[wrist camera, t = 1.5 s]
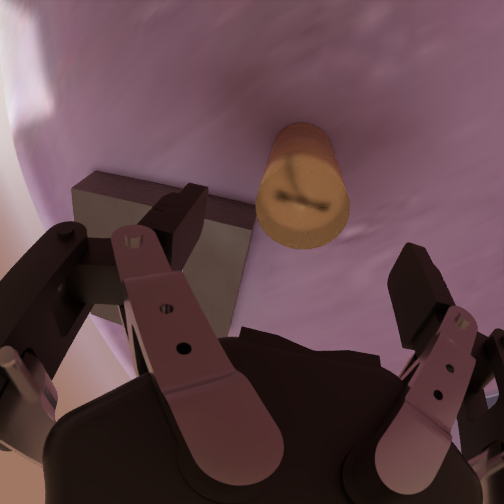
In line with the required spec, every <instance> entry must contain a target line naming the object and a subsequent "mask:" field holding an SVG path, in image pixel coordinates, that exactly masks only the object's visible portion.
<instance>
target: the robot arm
mask: <svg viewBox="0 0 504 504" xmlns="http://www.w3.org/2000/svg"><path fill="white" fill-rule="evenodd" d="M207 197H208V187H206V186H202V185H197V184H193V183H188V184H187V185H186V186H185V187H184V189H183V190H182V191H181V192H180V193H176V192H171V193H169V194H167V195H164V196H162V197H161V198H160V200H159V201H158V202H157V203H156V204H155V205H154V206H153V207H152V209H150V210H149V211H148V212H147V214H146V215H145V216H144V217H143V218H142V219H141V220H140V221H139V222H138V224H137V225H126V226H123V227H120V228H118V229H117V230H115V231H114V232H113V234H112V236H111V238H92V237H88V236H87V229H86V227H85V226H84V225H83V224H81V223H79V222H74V221H68V222H62V223H59V224H56V225H54V226H53V227H51V228H50V229H49V230H48V231H47V232H46V233H45V234H44V235H43V236H42V237H41V238H40V239H39V240H38V241H37V242H36V243H35V244H34V245H33V246H32V247H31V248H30V249H29V250H28V251H27V252H26V253H25V254H24V255H23V256H22V257H21V259H20V260H19V261H18V262H17V263H16V264H15V265H14V266H13V267H12V268H11V269H10V271H9V272H8V273H7V274H6V275H5V276H4V277H3V279H2V280H1V281H0V450H2V451H14V452H15V453H17V454H19V455H20V456H22V457H24V458H26V459H27V460H29V461H31V462H33V463H34V464H36V465H38V466H40V467H42V468H43V471H44V478H45V490H46V492H45V493H46V495H45V496H46V497H45V504H504V330H502V329H495V330H494V331H493V332H492V333H491V334H490V336H489V337H487V336H485V335H483V334H481V333H479V332H478V331H477V330H478V326H477V323H476V321H475V319H474V318H473V317H472V315H471V314H470V313H469V312H468V311H466V310H465V309H463V308H461V307H459V306H456V305H455V303H454V301H453V298H452V296H451V294H450V292H449V290H448V288H447V285H446V283H445V281H443V277H442V275H441V273H440V271H439V270H438V268H437V267H436V266H435V265H434V264H433V262H432V260H431V258H430V256H429V254H428V252H427V251H426V249H425V248H424V247H422V246H419V245H416V244H413V243H409V242H408V243H406V244H405V246H404V247H403V249H402V251H401V253H400V255H399V257H398V259H397V261H396V263H395V264H394V266H393V268H392V270H391V272H390V274H389V277H388V283H387V286H388V290H389V294H390V298H391V302H392V305H393V309H394V313H395V317H396V321H397V326H398V330H399V334H400V339H401V343H402V348H405V349H411V350H415V353H414V354H413V355H412V357H411V358H410V359H409V361H408V362H407V364H406V365H405V367H404V368H403V370H402V371H401V373H400V374H399V376H396V375H395V374H393V373H392V372H390V371H389V370H387V369H385V368H383V367H381V364H380V356H378V355H373V354H367V353H361V352H356V351H351V350H340V351H314V350H311V349H308V348H306V347H304V346H301V345H299V344H297V343H294V342H292V341H290V340H288V339H285V338H283V337H281V336H279V335H275V334H271V333H267V332H262V331H258V330H254V329H250V328H246V327H241V331H240V335H239V337H222V338H217V337H216V335H215V333H214V331H213V329H212V328H211V326H210V324H209V322H208V320H207V318H206V316H205V315H204V313H203V311H202V309H201V307H200V305H199V303H198V301H197V299H196V297H195V295H194V293H193V292H192V290H191V288H190V286H189V284H188V282H187V280H186V278H185V276H184V274H183V272H182V269H183V267H184V266H185V264H186V262H187V260H188V258H189V256H190V254H191V253H192V251H193V249H194V247H195V245H196V244H197V242H198V240H199V238H200V236H201V233H202V229H203V225H204V218H205V211H206V204H207ZM94 304H107V305H118V310H119V313H120V317H121V321H122V325H123V328H124V332H125V335H126V339H127V342H128V345H129V349H130V353H131V357H132V361H133V365H134V369H135V372H136V375H137V378H135V379H133V380H131V381H129V382H127V383H125V384H123V385H121V386H119V387H117V388H116V389H114V390H112V391H110V392H108V393H106V394H104V395H102V396H100V397H98V398H96V399H94V400H92V401H90V402H88V403H86V404H84V405H82V406H80V407H78V408H76V409H74V410H72V411H70V412H68V413H67V414H65V415H64V416H62V417H61V418H60V419H59V420H58V421H57V422H56V421H55V409H56V405H57V400H58V396H57V391H56V388H55V386H54V385H53V383H52V379H53V377H54V375H55V374H56V372H57V370H58V368H59V365H60V364H61V362H62V360H63V358H64V357H65V355H66V353H67V351H68V349H69V347H70V346H71V344H72V342H73V340H74V339H75V337H76V335H77V333H78V331H79V330H80V328H81V326H82V325H83V323H84V321H85V319H86V318H87V316H88V314H89V313H90V311H91V309H92V308H93V306H94ZM494 378H495V379H496V383H497V386H498V390H499V397H498V400H497V402H496V403H495V405H493V406H492V407H491V408H490V409H489V410H488V406H487V402H486V398H485V393H484V389H483V388H484V387H485V386H486V385H487V384H488V383H489V382H490V381H492V380H493V379H494ZM456 417H457V421H458V427H459V435H460V443H461V451H462V454H461V452H460V451H459V450H458V449H457V447H456V446H455V445H454V443H453V442H452V436H451V434H450V432H451V429H452V426H453V424H454V421H455V419H456Z"/></svg>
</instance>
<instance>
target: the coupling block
mask: <svg viewBox="0 0 504 504" xmlns="http://www.w3.org/2000/svg"><path fill="white" fill-rule="evenodd" d="M182 190H183V189H181V188H177V187H172V186H167V185H163V184H158V183H153V182H148V181H144V180H139V179H134V178H129V177H124V176H119V175H113V174H108V173H103V172H98V171H94V172H93V173H92V174H90V175H89V176H87V177H86V178H85V179H83V180H82V181H80V182H79V183H78V184H76V185H75V186H74V187H72V188H71V192H72V203H73V213H74V221H75V222H79V223H81V224H83V225H84V226H85V227H86V229H87V236H88V237H92V238H111V236H112V234H113V232H114V231H115V230H117V229H118V228H120V227H123V226H126V225H137V224H138V222H139V221H140V220H141V219H142V218H143V217H144V216H145V215H146V214H147V212H148V211H149V210H150V209H152V207H153V206H154V205H155V204H156V203H157V202H158V201H159V200H160V198H161V197H162V196H164V195H167V194H169V193H171V192H176V193H180V192H181V191H182ZM256 216H257V215H256V206H254V205H250V204H246V203H242V202H238V201H233V200H229V199H225V198H221V197H216V196H212V195H208V197H207V204H206V211H205V218H204V225H203V229H202V233H201V236H200V238H199V240H198V242H197V244H196V245H195V247H194V249H193V251H192V253H191V254H190V256H189V258H188V260H187V262H186V264H185V266H184V268H183V274H184V276H185V278H186V280H187V282H188V284H189V286H190V288H191V290H192V292H193V293H194V295H195V297H196V299H197V301H198V303H199V305H200V307H201V309H202V311H203V313H204V315H205V316H206V318H207V320H208V322H209V324H210V326H211V328H212V329H213V331H214V333H215V335H216V337H217V338H222V337H228V333H229V329H230V325H231V321H232V316H233V312H234V308H235V304H236V300H237V295H238V291H239V287H240V283H241V279H242V274H243V270H244V266H245V262H246V258H247V253H248V249H249V245H250V241H251V237H252V232H253V228H254V224H255V220H256ZM90 312H91V314H93V315H95V316H98V317H101V318H103V319H106V320H109V321H112V322H115V323H117V324H120V325H122V321H121V317H120V313H119V310H118V305H107V304H94V306H93V308H92V309H91V311H90Z"/></svg>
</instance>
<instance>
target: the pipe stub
mask: <svg viewBox="0 0 504 504" xmlns="http://www.w3.org/2000/svg"><path fill="white" fill-rule="evenodd" d="M349 211H350V204H349V198H348V195H347V192H346V188H345V185H344V182H343V179H342V176H341V172H340V169H339V166H338V163H337V160H336V157H335V154H334V151H333V148H332V145H331V143H330V140H329V138H328V136H327V135H326V134H325V132H324V131H323V130H321V129H320V128H319V127H317V126H315V125H313V124H309V123H294V124H291V125H289V126H287V127H285V128H284V129H283V130H281V131H280V133H279V134H278V135H277V137H276V139H275V142H274V145H273V148H272V151H271V154H270V157H269V160H268V163H267V166H266V170H265V173H264V176H263V179H262V182H261V185H260V188H259V192H258V195H257V198H256V215H257V218H258V221H259V223H260V225H261V227H262V229H263V230H264V231H265V232H266V234H267V235H268V236H269V237H271V238H272V239H273V240H275V241H276V242H278V243H280V244H282V245H284V246H287V247H290V248H295V249H312V248H317V247H320V246H323V245H325V244H327V243H329V242H330V241H332V240H333V239H335V238H336V237H337V236H338V235H339V234H340V233H341V231H342V230H343V228H344V227H345V225H346V223H347V220H348V217H349Z"/></svg>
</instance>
